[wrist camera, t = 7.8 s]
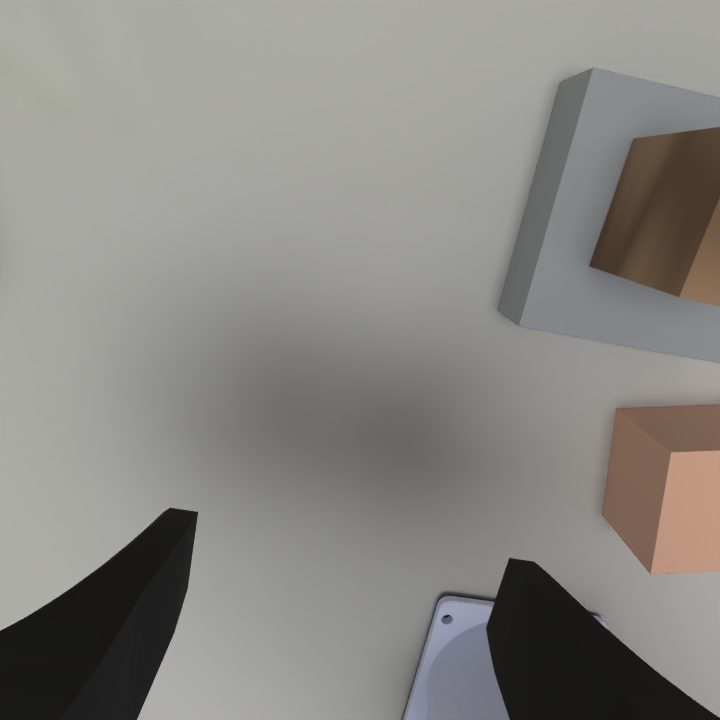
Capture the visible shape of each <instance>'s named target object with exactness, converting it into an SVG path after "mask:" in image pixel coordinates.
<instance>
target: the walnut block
mask: <svg viewBox="0 0 720 720" xmlns="http://www.w3.org/2000/svg"><path fill="white" fill-rule="evenodd" d="M589 267H592V268H595V269H598V270H601V271H604V272H607V273H610V274H613V275H616V276H619V277H621V278H624V279H627V280H630V281H633V282H636V283H639V284H642V285H645V286H648V287H651V288H653V289H656V290H659V291H662V292H665V293H668V294H671V295H674V296H677V297H680V298H684V299H689V300H693V301H697V302H702V303H706V304H710V305H715V306H719V307H720V127H715V128H708V129H700V130H693V131H685V132H678V133H671V134H663V135H656V136H648V137H641V138H634V139H633V142H632V145H631V148H630V151H629V153H628V156H627V159H626V162H625V165H624V168H623V171H622V173H621V176H620V179H619V182H618V185H617V188H616V190H615V193H614V196H613V199H612V202H611V205H610V208H609V210H608V213H607V216H606V219H605V222H604V225H603V228H602V230H601V233H600V236H599V239H598V242H597V245H596V247H595V250H594V253H593V256H592V259H591V262H590V265H589Z"/></svg>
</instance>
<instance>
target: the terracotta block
mask: <svg viewBox="0 0 720 720" xmlns="http://www.w3.org/2000/svg"><path fill="white" fill-rule="evenodd" d="M602 515H603V516H604V517H605V519H606V520H607V521H608V522H609V524H610V525H611V526H612V527H613V529H614V530H615V531H616V532H617V534H618V535H619V536H620V537H621V539H622V540H623V541H624V542H625V543H626V545H627V546H628V547H629V548H630V550H631V551H632V552H633V553H634V555H635V556H636V557H637V558H638V560H639V561H640V562H641V563H642V565H643V566H644V567H645V568H646V569H647V571H648V572H649V573H650V574H671V573H692V572H713V571H720V405H696V406H669V407H642V408H616V414H615V422H614V430H613V437H612V445H611V452H610V460H609V468H608V475H607V483H606V491H605V498H604V506H603V513H602Z"/></svg>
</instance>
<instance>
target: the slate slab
mask: <svg viewBox="0 0 720 720" xmlns="http://www.w3.org/2000/svg"><path fill="white" fill-rule="evenodd" d="M715 127H720V98H719V97H715V96H711V95H707V94H702V93H698V92H694V91H690V90H686V89H681V88H677V87H673V86H669V85H665V84H660V83H656V82H652V81H648V80H644V79H639V78H635V77H631V76H627V75H622V74H618V73H614V72H610V71H606V70H601V69H597V68H591V69H589V70H587V71H585V72H582V73H580V74H578V75H576V76H573V77H571V78H569V79H567V80H564V81H562V82H560V84H559V87H558V91H557V95H556V98H555V102H554V106H553V109H552V113H551V117H550V120H549V124H548V128H547V131H546V135H545V139H544V142H543V146H542V149H541V153H540V157H539V160H538V164H537V168H536V171H535V175H534V179H533V182H532V186H531V190H530V193H529V197H528V201H527V204H526V208H525V212H524V215H523V219H522V223H521V226H520V230H519V233H518V237H517V241H516V244H515V248H514V252H513V255H512V259H511V263H510V266H509V270H508V274H507V277H506V281H505V285H504V288H503V292H502V296H501V299H500V303H499V307H498V311H499V312H501V313H502V314H503V315H505V316H506V317H507V318H509V319H510V320H511V321H512V322H514V323H515V324H516V325H518V326H519V327H525V328H530V329H536V330H541V331H546V332H552V333H557V334H563V335H568V336H574V337H579V338H584V339H590V340H595V341H601V342H606V343H612V344H617V345H622V346H628V347H633V348H639V349H644V350H650V351H655V352H661V353H666V354H671V355H677V356H682V357H688V358H693V359H699V360H704V361H709V362H715V363H720V307H719V306H715V305H710V304H706V303H702V302H697V301H693V300H689V299H684V298H680V297H677V296H674V295H671V294H668V293H665V292H662V291H659V290H656V289H653V288H651V287H648V286H645V285H642V284H639V283H636V282H633V281H630V280H627V279H624V278H621V277H619V276H616V275H613V274H610V273H607V272H604V271H601V270H598V269H595V268H592V267H589V265H590V262H591V259H592V256H593V253H594V250H595V247H596V245H597V242H598V239H599V236H600V233H601V230H602V228H603V225H604V222H605V219H606V216H607V213H608V210H609V208H610V205H611V202H612V199H613V196H614V193H615V190H616V188H617V185H618V182H619V179H620V176H621V173H622V171H623V168H624V165H625V162H626V159H627V156H628V153H629V151H630V148H631V145H632V142H633V139H634V138H641V137H648V136H656V135H663V134H671V133H678V132H685V131H693V130H700V129H708V128H715Z"/></svg>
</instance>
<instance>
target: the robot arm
mask: <svg viewBox="0 0 720 720" xmlns="http://www.w3.org/2000/svg"><path fill="white" fill-rule="evenodd" d="M197 516H198V512H194V511H188V510H181V509H174V508H169V509H168V510H166V511H164V512H163V513H162V514H161V515H160V516H159V517H158V518H157V519H156V520H155V521H154V522H153V523H152V524H151V525H149V526H148V527H147V528H146V529H145V530H144V531H143V532H142V533H141V534H139V535H138V536H137V537H136V538H135V539H134V540H133V541H131V542H130V543H129V544H128V545H127V546H125V547H124V548H123V549H122V550H121V551H119V552H118V553H117V554H116V555H115V556H113V557H112V558H111V559H110V560H108V561H107V562H106V563H105V564H103V565H102V566H101V567H99V568H98V569H97V570H95V571H94V572H93V573H91V574H90V575H89V576H87V577H86V578H84V579H83V580H82V581H80V582H79V583H78V584H76V585H75V586H74V587H72V588H71V589H69V590H68V591H66V592H65V593H63V594H62V595H60V596H59V597H57V598H56V599H54V600H53V601H51V602H50V603H48V604H47V605H45V606H43V607H42V608H40V609H38V610H37V611H35V612H34V613H32V614H30V615H29V616H27V617H25V618H24V619H22V620H20V621H18V622H16V623H14V624H12V625H11V626H9V627H7V628H5V629H3V630H1V631H0V720H137V718H138V716H139V713H140V711H141V709H142V706H143V704H144V702H145V699H146V697H147V695H148V693H149V690H150V688H151V686H152V683H153V681H154V679H155V676H156V674H157V672H158V669H159V667H160V665H161V662H162V660H163V658H164V655H165V653H166V651H167V648H168V646H169V644H170V641H171V639H172V636H173V634H174V631H175V628H176V625H177V622H178V619H179V615H180V612H181V609H182V605H183V602H184V599H185V595H186V592H187V589H188V582H189V574H190V567H191V560H192V552H193V545H194V538H195V530H196V523H197ZM445 615H450V616H449V617H447V618H443V616H445ZM403 720H720V718H719V717H717V716H716V715H714V714H713V713H712V712H710V711H709V710H707V709H706V708H704V707H703V706H702V705H700V704H699V703H697V702H696V701H695V700H693V699H692V698H691V697H689V696H688V695H687V694H685V693H684V692H683V691H681V690H680V689H679V688H677V687H676V686H675V685H673V684H672V683H671V682H669V681H668V680H667V679H665V678H664V677H663V676H662V675H660V674H659V673H658V672H657V671H655V670H654V669H653V668H652V667H650V666H649V665H648V664H647V663H646V662H644V661H643V660H642V659H641V658H640V657H639V656H637V655H636V654H635V653H634V652H633V651H631V650H630V649H629V648H628V647H627V646H626V645H624V644H623V643H622V642H621V641H620V640H619V639H618V638H617V637H615V636H614V635H613V634H612V633H611V632H610V631H609V630H608V627H607V624H606V623H605V621H604V620H603V619H602V618H601V617H598V616H592V615H591V614H590V613H589V612H588V611H587V610H586V609H585V608H584V607H583V606H582V605H581V604H580V603H579V602H578V601H577V600H576V599H574V598H573V597H572V596H571V595H570V594H569V593H568V592H567V591H566V590H565V589H564V588H563V587H562V586H561V585H560V584H559V583H558V582H557V581H555V580H554V579H553V578H552V577H551V576H550V575H549V574H548V573H547V572H546V571H545V570H543V569H542V568H541V567H540V566H539V565H537V564H536V563H535V562H532V561H525V560H519V559H512V558H509V561H508V564H507V567H506V570H505V573H504V576H503V579H502V582H501V584H500V587H499V590H498V593H497V596H496V599H495V602H491V601H484V600H477V599H470V598H463V597H456V596H445V597H443V598H441V599H440V600H439V602H438V604H437V607H436V610H435V614H434V617H433V620H432V624H431V627H430V630H429V634H428V637H427V640H426V644H425V647H424V650H423V654H422V657H421V660H420V664H419V667H418V670H417V674H416V677H415V680H414V684H413V687H412V690H411V694H410V697H409V700H408V704H407V707H406V711H405V714H404V717H403Z"/></svg>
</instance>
